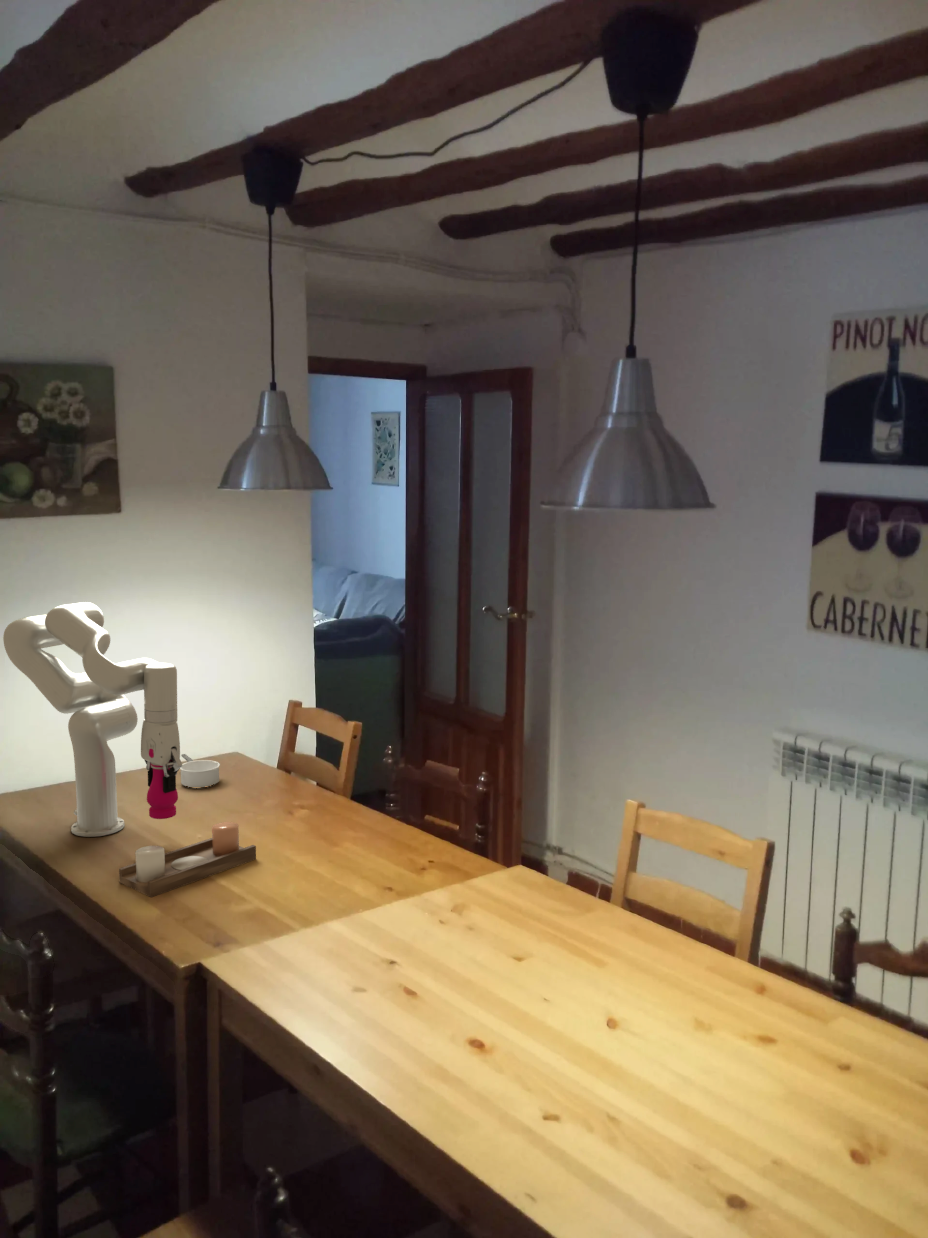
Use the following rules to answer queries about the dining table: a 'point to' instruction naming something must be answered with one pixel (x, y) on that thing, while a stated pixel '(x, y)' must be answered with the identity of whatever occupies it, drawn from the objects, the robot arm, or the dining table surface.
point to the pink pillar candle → (225, 838)
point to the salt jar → (150, 863)
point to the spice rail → (187, 867)
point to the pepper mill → (160, 794)
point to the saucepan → (199, 772)
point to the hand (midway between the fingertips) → (161, 787)
